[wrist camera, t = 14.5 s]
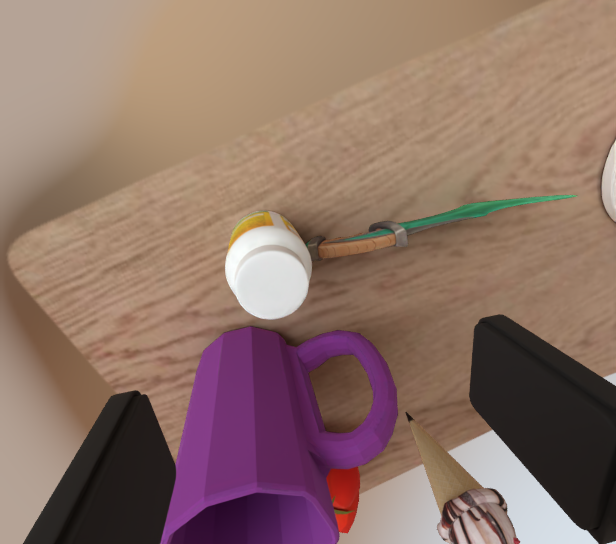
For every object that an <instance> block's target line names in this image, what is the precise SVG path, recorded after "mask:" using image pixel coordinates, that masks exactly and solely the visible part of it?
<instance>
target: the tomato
mask: <svg viewBox="0 0 616 544" xmlns="http://www.w3.org/2000/svg"><path fill="white" fill-rule="evenodd" d="M326 480H327V484H328V488H329V492H330V496H331V500H332V504H333V508H334V512H335V516H336V520H337V524H338V530H339V532H342V533H348V532H349V530H350V528H351V526H352V524H353V522H354V519H355V516H356V513H357V508H358V502H359V489H360V474H359V470H358V467H354V468H351V469H330V471H329V473H328V476H327V478H326Z"/></svg>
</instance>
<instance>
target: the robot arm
mask: <svg viewBox="0 0 616 544" xmlns="http://www.w3.org/2000/svg"><path fill="white" fill-rule="evenodd" d="M601 189H602V199H603V203H604V206H605V209H606V211H607V213H608V214H609V216H610V218H612V219H613V220H614V221H615V222H616V140H615V142H614V144H613V146H612V147H611V150H610V152H609V155H608V157H607V160H606V163H605V167H604V171H603V175H602V187H601ZM469 397H470V401H471V404H472V405H473V407H474V408H475V410H476V411H477V412H478V413H479V414H480V415H481V417H482V418H483V419H484V420H485V421H486V422H487V424H488V425H489V426H490V427H491V428H492V429H493V430H494V432H496V434H497V435H498V436H499V437H500V438H501V439H502V441H503V442H504V443H505V444H506V445H507V446H508V447H509V449H510V450H511V451H512V452H513V453H514V454H515V456H516V457H517V458H518V459H519V460H520V461H521V462H522V464H523V465H524V466H525V467H526V468H527V469H528V470H529V472H530V473H531V474H532V475H533V476H534V477H535V478H536V480H537V481H538V482H539V483H540V484H541V485H542V487H543V488H544V489H545V490H546V491H547V492H548V493H549V495H551V497H552V498H553V499H554V500H555V501H556V502H557V504H558V505H559V506H560V507H561V508H562V509H563V511H564V512H565V513H566V514H567V515H568V516H569V517H570V519H571V520H572V521H573V522H574V523H575V524H576V525H577V526H579V527H580V528H581V529H584V530H587V531H588V532H589V533H590V534H591V535H592V536H593V538H594V539H595V540H596V541H597V542H598V543H599V544H607V543H610V542H613V541H616V386H615V385H613V384H612V383H610V382H608V381H607V380H605V379H604V378H602V377H601V376H599V375H597V374H596V373H594V372H593V371H591V370H590V369H588V368H586V367H585V366H583V365H582V364H580V363H579V362H577V361H575V360H574V359H572V358H571V357H569V356H568V355H566V354H564V353H563V352H561V351H560V350H558V349H557V348H555V347H553V346H552V345H550V344H549V343H547V342H546V341H544V340H542V339H541V338H539V337H538V336H536V335H535V334H533V333H531V332H530V331H528V330H527V329H525V328H524V327H522V326H520V325H519V324H517V323H516V322H514V321H513V320H511V319H509V318H508V317H506V316H504V315H495V316H490V317H485V318H482V319H480V320H479V322H478V324H477V325H476V326H475V328H474V339H473V353H472V366H471V380H470V393H469ZM175 481H176V466H175V463H174V460H173V458H172V455H171V453H170V450H169V448H168V445H167V443H166V440H165V438H164V435H163V433H162V431H161V428H160V426H159V423H158V421H157V418H156V416H155V413H154V411H153V408H152V406H151V403H150V401H149V398H148V396H147V395H145V394H143V395H141V394H140V392H139V391H136V390H135V391H130V392H125V393H121V394H116V395H113V396H111V397H110V399H109V400H108V402H107V403H106V405H105V407H104V408H103V410H102V412H101V414H100V415H99V417H98V419H97V420H96V422H95V424H94V425H93V427H92V429H91V430H90V432H89V434H88V435H87V437H86V439H85V440H84V442H83V444H82V445H81V447H80V449H79V450H78V452H77V454H76V455H75V457H74V459H73V460H72V462H71V464H70V466H69V467H68V469H67V471H66V472H65V474H64V476H63V477H62V479H61V481H60V483H59V484H58V486H57V487H56V489H55V491H54V492H53V494H52V496H51V497H50V499H49V501H48V503H47V504H46V506H45V507H44V509H43V511H42V512H41V514H40V516H39V518H38V519H37V521H36V522H35V524H34V526H33V528H32V529H31V531H30V533H29V534H28V536H27V538H26V539H25V541H24V543H23V544H160V543H161V539H162V535H163V531H164V527H165V523H166V518H167V514H168V510H169V506H170V502H171V498H172V494H173V489H174V485H175Z"/></svg>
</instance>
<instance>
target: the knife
mask: <svg viewBox="0 0 616 544" xmlns="http://www.w3.org/2000/svg"><path fill="white" fill-rule="evenodd" d="M571 197H575V196H574V195H555V196H542V197H531V198H520V199H509V200H498V201H488V202H479V203H471V204H467V205H463V206H461V207H459V208H457V209H454V210H451V211H448V212H445V213H442V214H438V215H435V216H431V217H426V218H422V219H418V220H414V221H409V222H404V223H398V224H397V223H395V222H392V221H384V222H378V223H375V224H372V225H371V226H370V227H369V233H366V234H362V233H359V234H357V235H354V236H350V237H343V238H341V237H339V238H335V239H332V240H326V239H325V237H322V236H317V237H314V238H312V239H311V240H310V241H309V242H308V243H306V244H305V245H306V247H307V249H308V251H309V253H310V257H311V262H312V261H321V260H322V259H323V258H331V257H340V256H348V255H353V254H359V253H364V252H369V251H373V250H377V249H382V248H386V247H390V246H396V247H407V246H408V238H407V236H408V235H411V234H414V233H417V232H419V231H422V230H425V229H428V228H432V227H435V226H439V225H443V224H448V223H452V222H457V221H461V220H466V219H471V218H476V217H481V216H486V215H487V214H488V213H490V212H493V211H496V210H499V209H502V208H507V207H512V206H517V205H523V204H529V203H536V202H543V201H551V200H559V199H566V198H571Z"/></svg>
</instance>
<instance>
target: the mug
mask: <svg viewBox="0 0 616 544" xmlns="http://www.w3.org/2000/svg"><path fill="white" fill-rule="evenodd" d="M340 355H354V356H355V357H356V358H358V359H359V361H360V363H361V364H362V366H363V367H364V369H365V371H366V372H367V374H368V377H369V381H370V384H371V387H372V390H373V404H372V407H371V410H370V412H369V414H368V416H367V418H366V419H365V421H364V423H363V424H361V425H360V426H359V427H357V428H356V429H355V430H354V431H352V432H350V433H335V432H326V430H325V427H324V424H323V420H322V417H321V414H320V410H319V407H318V404H317V401H316V397H315V394H314V391H313V387H312V384H311V381H310V378H309V374H308V372H310V371H312V370H314V369H315V368H317V367H319V366H320V365H321V364H323V363H324V362H325V361H326V360H328V359H329V358H331V357H335V356H340ZM397 416H398V408H397V389H396V386H395V383H394V381H393V378H392V375H391V373H390V370H389V367H388V365H387V363H386V361H385V360H384V358H383V357H382V356H381V354H380V353H379V352H378V350H377V349H376V347H375V346H374V345H373V344H372V343H371V342H370V341H369V340H367V339H366V338H365V337H364V336H362V335H361V334H360V333H356V332H350V331H342V330H336V331H332V332H328V333H324V334H321V335H318V336H316V337H313V338H311V339H309V340H307V341H305V342H304V343H302V344H300V345H299V346H297V347H294V346H290V345H287V344H286V342H285V340H284V339H283V338H282V337H281V336H280V335H279V334H278V333H277V332H273V331H269V330H264V329H260V328H256V327H252V326H250V327H246V328H242V329H238V330H233V331H229V332H225V333H223V334H222V335H221V336H220V337H219V338H218V339H216V340H215V341H214V342H213V343H212V344H211V345H209V346H208V347H207V348H206V349H205V350H204V351H203V354H202V357H201V360H200V363H199V366H198V369H197V372H196V376H195V381H194V385H193V390H192V394H191V399H190V403H189V408H188V412H187V416H186V421H185V425H184V430H183V434H182V438H181V443H180V447H179V452H178V456H177V461H176V465H175V466H176V481H175V485H174V489H173V494H172V498H171V502H170V506H169V510H168V514H167V518H166V523H165V527H164V531H163V535H162V539H161V543H160V544H337V542H338V540H339V530H338V524H337V520H336V516H335V512H334V508H333V504H332V500H331V496H330V492H329V488H328V484H327V480H326V478H327V476H328V473H329V471H330V469H351V468H354V467H357V466H360V465H364V464H366V463H368V462H369V461H370V460H372V459H373V458H374V457H376V456H377V455H378V454H379V453H381V452H382V451H383V450H384V449H385V447H386V445H387V443H388V442H389V440H390V438H391V436H392V433H393V430H394V426H395V423H396V419H397Z"/></svg>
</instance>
